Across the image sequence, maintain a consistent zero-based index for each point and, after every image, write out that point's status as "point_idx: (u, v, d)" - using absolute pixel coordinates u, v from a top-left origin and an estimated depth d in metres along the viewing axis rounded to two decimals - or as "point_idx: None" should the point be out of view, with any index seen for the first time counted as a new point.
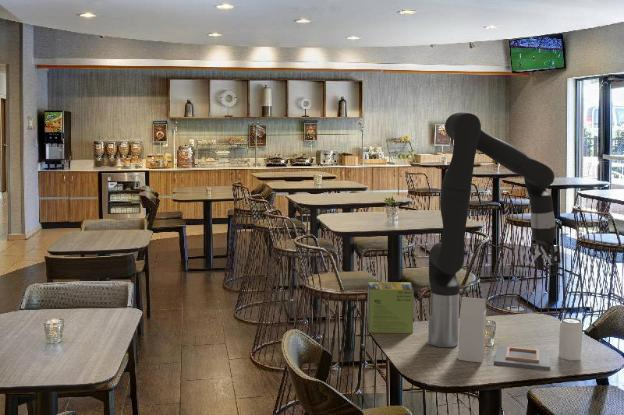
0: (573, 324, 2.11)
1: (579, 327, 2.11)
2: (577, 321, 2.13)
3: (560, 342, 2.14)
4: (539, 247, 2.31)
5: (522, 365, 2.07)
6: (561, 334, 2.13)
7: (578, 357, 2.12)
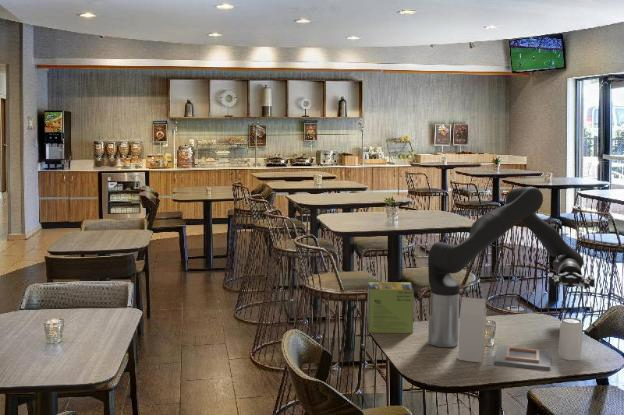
0: (573, 324, 2.11)
1: (579, 327, 2.11)
2: (577, 321, 2.13)
3: (560, 342, 2.14)
4: (568, 274, 2.32)
5: (522, 365, 2.07)
6: (561, 334, 2.13)
7: (578, 357, 2.12)
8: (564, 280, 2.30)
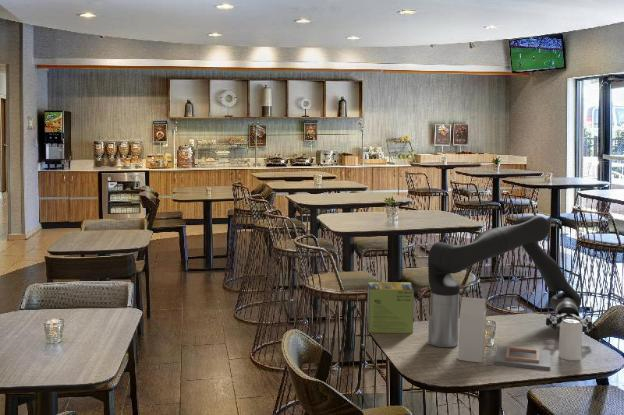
0: (573, 324, 2.11)
1: (579, 327, 2.11)
2: (577, 321, 2.13)
3: (560, 342, 2.14)
4: (565, 315, 2.31)
5: (522, 365, 2.07)
6: (561, 334, 2.13)
7: (578, 357, 2.12)
8: None
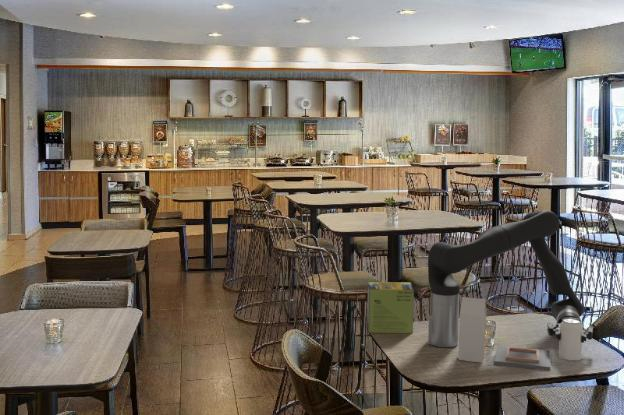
0: (573, 324, 2.10)
1: (579, 327, 2.11)
2: (577, 321, 2.13)
3: (560, 342, 2.14)
4: None
5: (522, 365, 2.07)
6: (561, 334, 2.13)
7: (578, 357, 2.12)
8: None
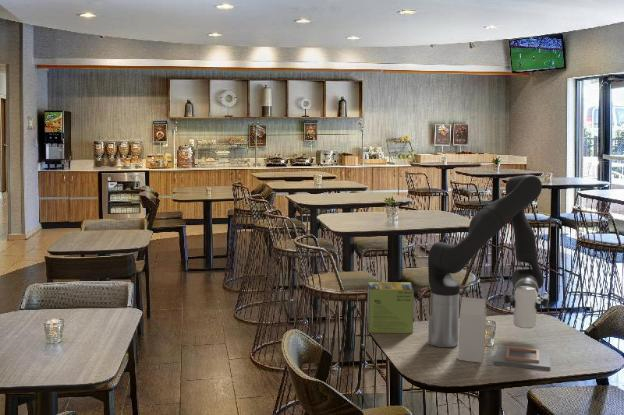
0: (527, 291, 2.07)
1: (533, 294, 2.08)
2: (532, 288, 2.10)
3: (515, 309, 2.11)
4: None
5: (522, 365, 2.07)
6: (516, 301, 2.10)
7: (532, 324, 2.09)
8: None
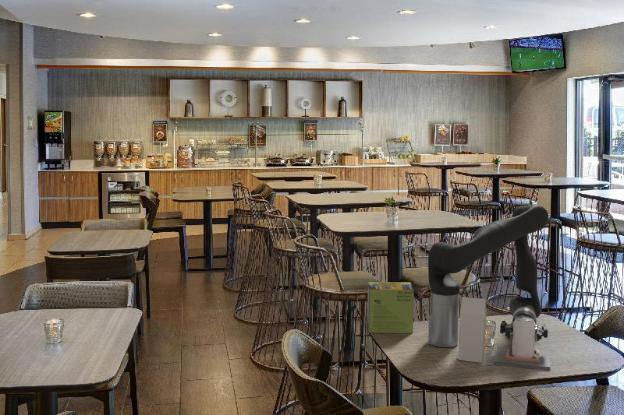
0: (526, 322, 2.09)
1: (532, 325, 2.09)
2: (530, 319, 2.12)
3: (513, 340, 2.12)
4: None
5: (522, 365, 2.07)
6: (514, 332, 2.11)
7: (531, 355, 2.11)
8: None
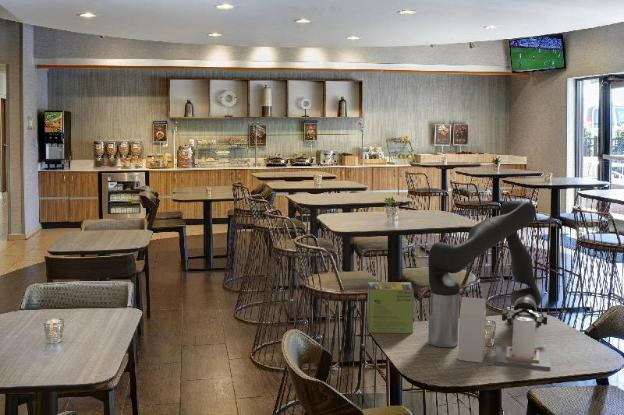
0: (526, 322, 2.09)
1: (532, 325, 2.09)
2: (530, 319, 2.12)
3: (513, 340, 2.12)
4: (522, 310, 2.31)
5: (522, 365, 2.07)
6: (514, 332, 2.11)
7: (531, 355, 2.11)
8: None
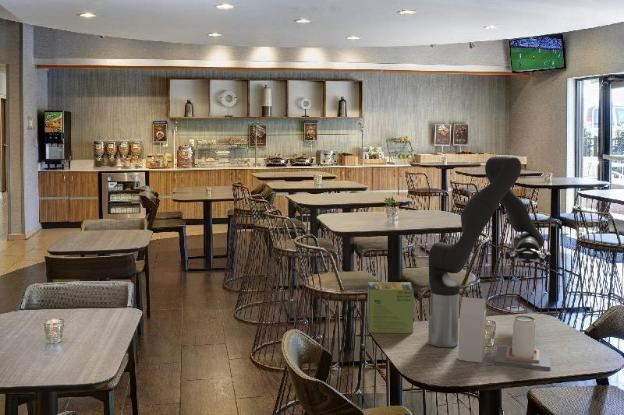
0: (526, 322, 2.09)
1: (532, 325, 2.09)
2: (530, 319, 2.12)
3: (513, 340, 2.12)
4: (525, 249, 2.32)
5: (522, 365, 2.07)
6: (514, 332, 2.11)
7: (531, 355, 2.11)
8: (521, 256, 2.31)
